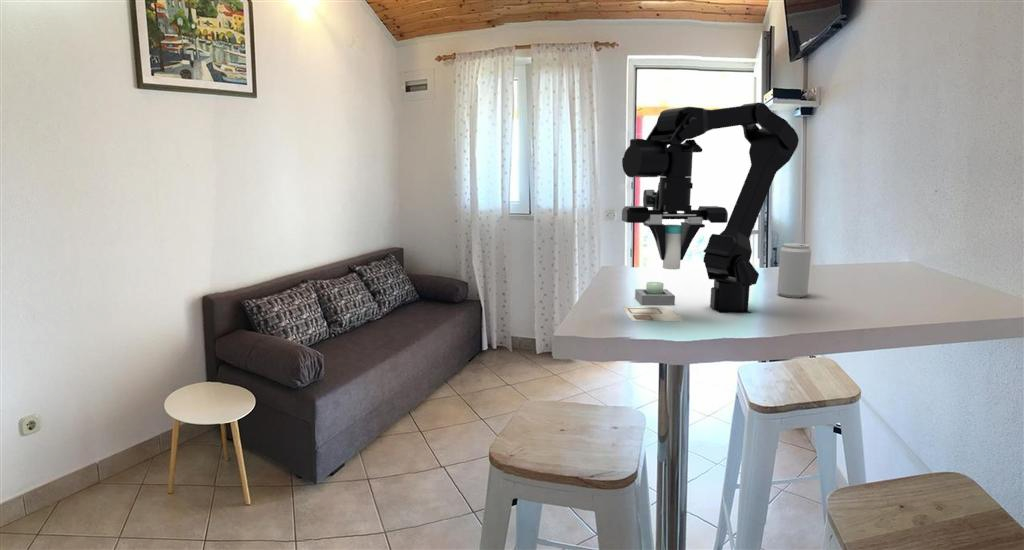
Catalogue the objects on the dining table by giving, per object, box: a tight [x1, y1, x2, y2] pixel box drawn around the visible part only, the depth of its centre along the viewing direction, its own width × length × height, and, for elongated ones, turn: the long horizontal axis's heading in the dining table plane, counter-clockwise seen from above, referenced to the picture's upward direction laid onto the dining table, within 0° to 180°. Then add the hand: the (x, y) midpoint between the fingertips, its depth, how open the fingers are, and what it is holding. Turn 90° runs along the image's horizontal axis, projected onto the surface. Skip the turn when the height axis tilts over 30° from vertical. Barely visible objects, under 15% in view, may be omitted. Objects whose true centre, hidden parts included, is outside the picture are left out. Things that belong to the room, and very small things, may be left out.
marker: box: [662, 224, 682, 270], centre depth 114 cm, size 3×3×8 cm
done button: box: [645, 281, 665, 294], centre depth 130 cm, size 4×4×2 cm
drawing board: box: [621, 305, 686, 322], centre depth 120 cm, size 12×14×1 cm
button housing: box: [634, 288, 676, 306], centre depth 130 cm, size 7×7×2 cm
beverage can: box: [776, 242, 812, 299], centre depth 138 cm, size 6×6×12 cm
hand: (671, 259), depth 115 cm, fingers closed on marker, 3 cm apart
